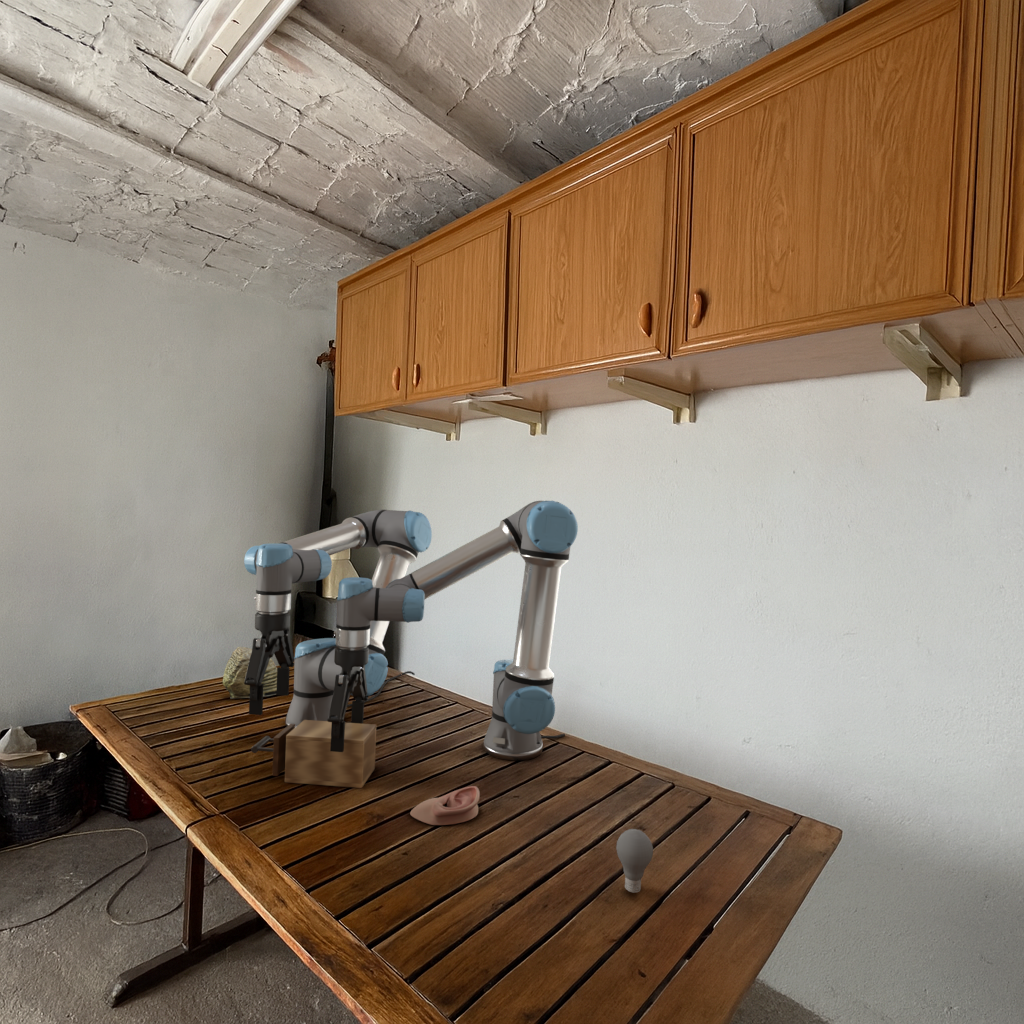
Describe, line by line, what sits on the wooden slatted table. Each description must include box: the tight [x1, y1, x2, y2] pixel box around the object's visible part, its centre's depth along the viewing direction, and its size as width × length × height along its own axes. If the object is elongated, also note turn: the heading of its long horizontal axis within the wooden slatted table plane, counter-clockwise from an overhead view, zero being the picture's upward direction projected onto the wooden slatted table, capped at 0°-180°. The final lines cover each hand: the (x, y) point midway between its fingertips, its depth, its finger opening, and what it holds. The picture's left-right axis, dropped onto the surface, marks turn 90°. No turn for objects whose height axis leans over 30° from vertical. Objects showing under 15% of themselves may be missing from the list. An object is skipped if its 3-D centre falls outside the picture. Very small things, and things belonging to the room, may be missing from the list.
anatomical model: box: [409, 785, 481, 826], centre depth 129 cm, size 13×4×12 cm
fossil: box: [222, 646, 278, 699], centre depth 198 cm, size 9×18×15 cm, turn 132°
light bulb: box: [615, 828, 654, 894], centre depth 106 cm, size 6×6×10 cm
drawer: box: [250, 724, 295, 777], centre depth 144 cm, size 22×9×9 cm, turn 86°
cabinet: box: [284, 720, 377, 789], centre depth 144 cm, size 17×10×10 cm, turn 86°
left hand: (269, 704), depth 145 cm, fingers open, 13 cm apart
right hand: (347, 739), depth 144 cm, fingers open, 13 cm apart
